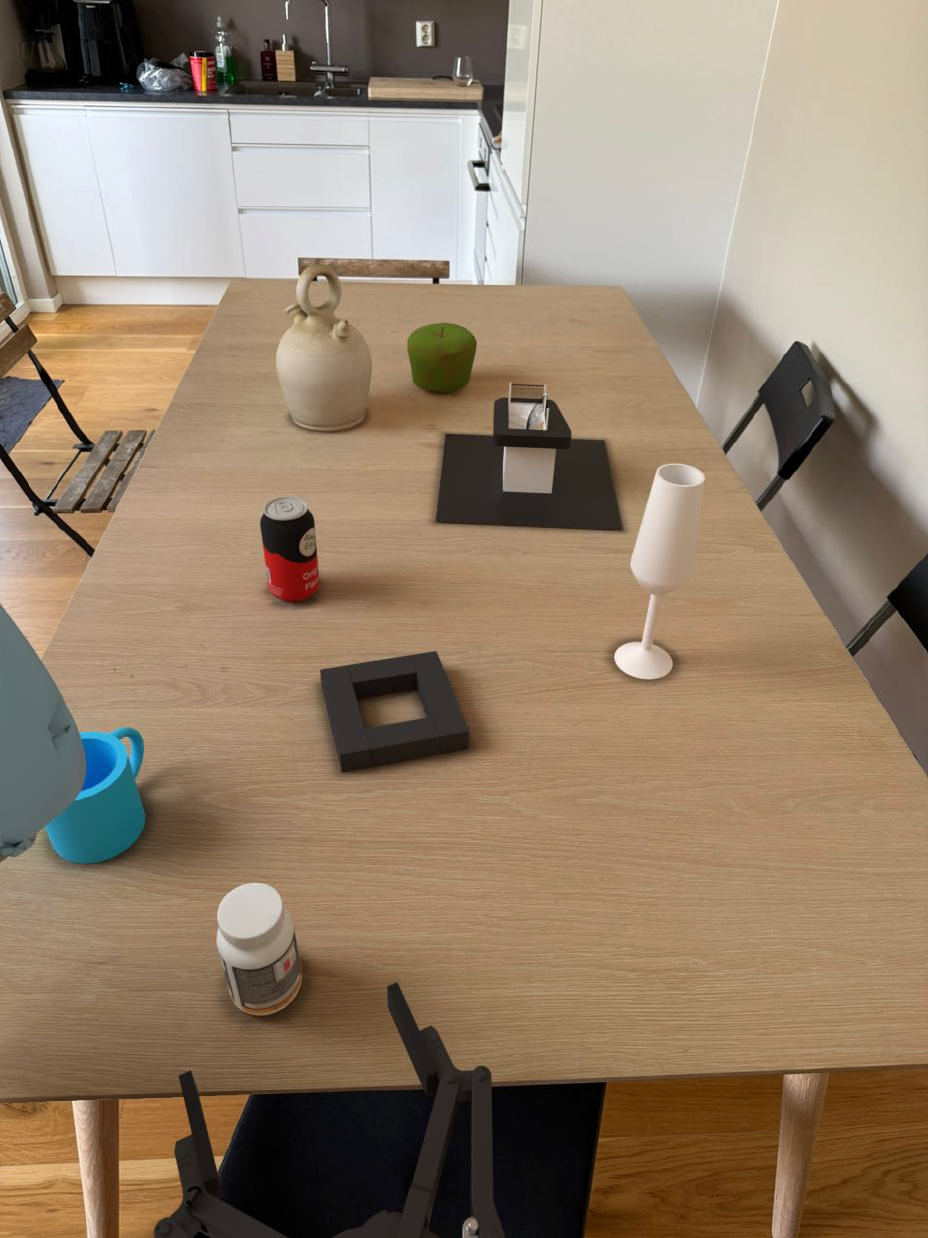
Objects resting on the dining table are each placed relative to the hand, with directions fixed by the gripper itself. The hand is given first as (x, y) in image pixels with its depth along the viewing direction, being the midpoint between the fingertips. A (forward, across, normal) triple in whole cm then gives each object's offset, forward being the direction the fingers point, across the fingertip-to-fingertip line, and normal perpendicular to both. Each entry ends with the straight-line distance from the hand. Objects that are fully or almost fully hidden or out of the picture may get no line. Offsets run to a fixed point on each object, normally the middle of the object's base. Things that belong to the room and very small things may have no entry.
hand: (294, 1036), depth 57 cm
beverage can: (+60, +18, -9) cm, 63 cm away
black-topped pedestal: (+74, +59, -9) cm, 95 cm away
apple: (+110, +61, -9) cm, 126 cm away
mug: (+33, -8, -9) cm, 35 cm away
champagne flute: (+30, +50, -9) cm, 59 cm away
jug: (+106, +38, -9) cm, 113 cm away
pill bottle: (+10, 0, -9) cm, 13 cm away
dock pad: (+34, +20, -9) cm, 40 cm away
